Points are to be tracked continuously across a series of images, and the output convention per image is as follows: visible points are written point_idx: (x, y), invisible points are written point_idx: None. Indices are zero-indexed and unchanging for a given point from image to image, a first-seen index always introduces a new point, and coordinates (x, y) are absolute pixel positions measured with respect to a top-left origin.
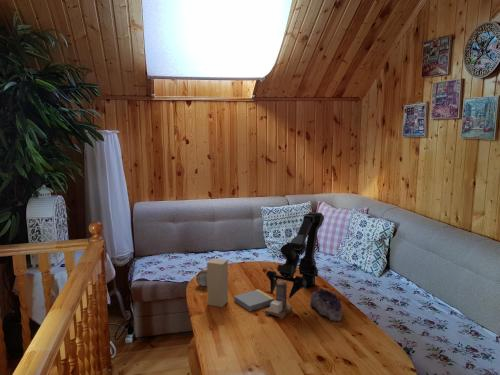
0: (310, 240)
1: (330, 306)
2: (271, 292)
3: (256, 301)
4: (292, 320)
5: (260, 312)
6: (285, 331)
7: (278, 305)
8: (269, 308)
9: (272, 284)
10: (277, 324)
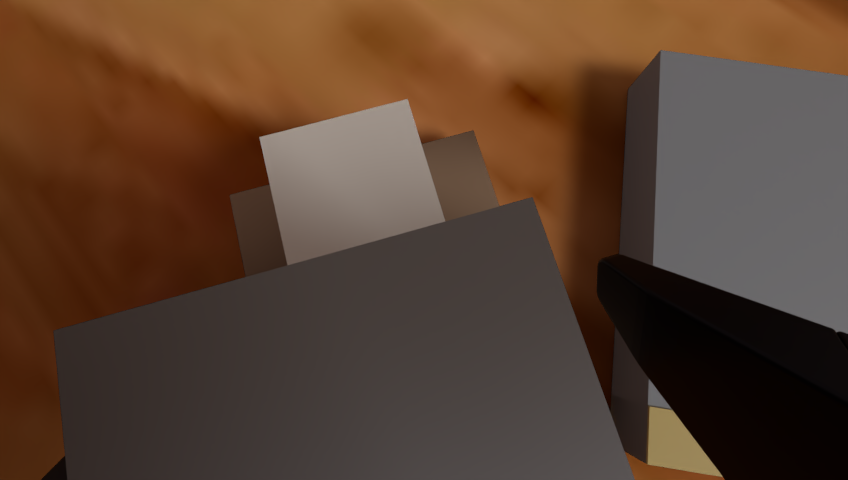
0: None
1: None
2: (609, 267)
3: (722, 198)
4: (153, 269)
5: (535, 153)
6: (87, 57)
7: (263, 146)
8: (476, 210)
9: (845, 386)
10: (228, 97)
